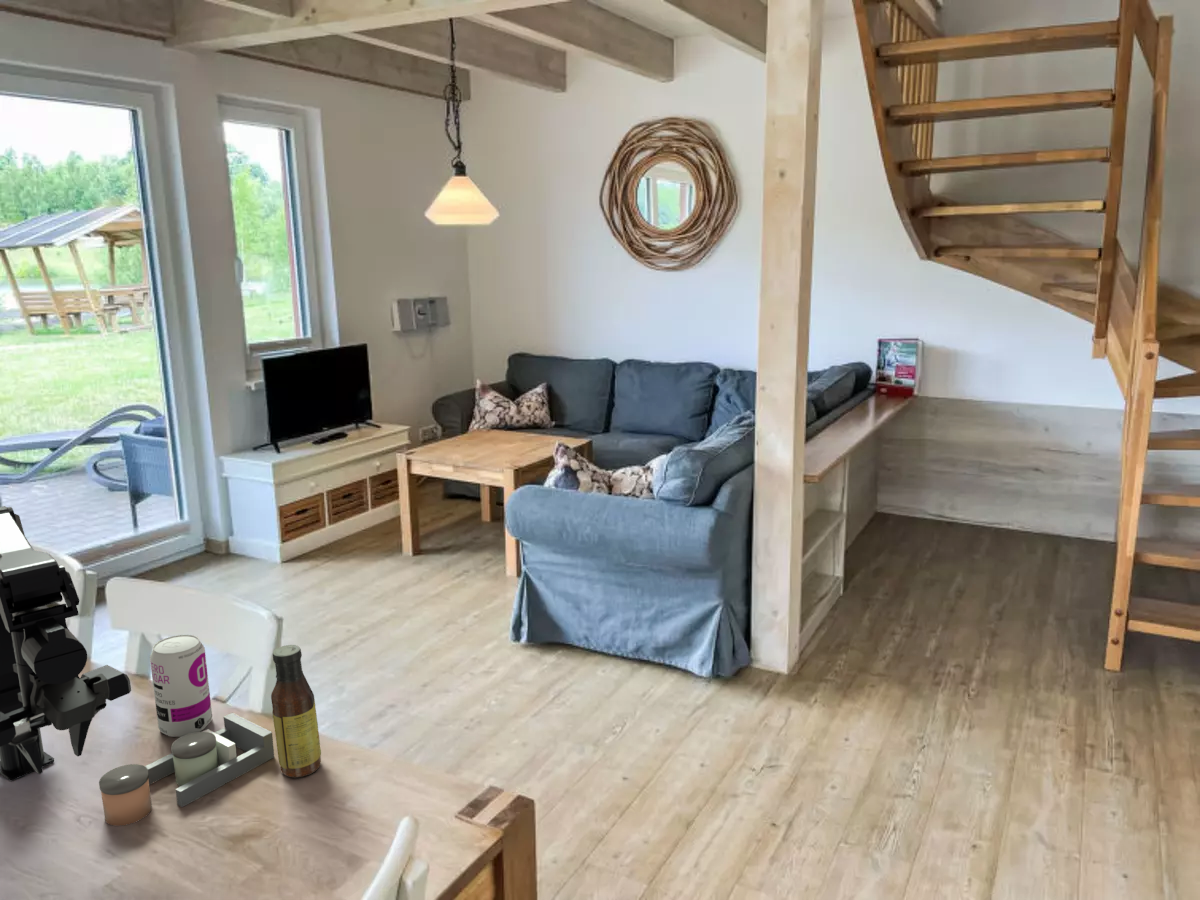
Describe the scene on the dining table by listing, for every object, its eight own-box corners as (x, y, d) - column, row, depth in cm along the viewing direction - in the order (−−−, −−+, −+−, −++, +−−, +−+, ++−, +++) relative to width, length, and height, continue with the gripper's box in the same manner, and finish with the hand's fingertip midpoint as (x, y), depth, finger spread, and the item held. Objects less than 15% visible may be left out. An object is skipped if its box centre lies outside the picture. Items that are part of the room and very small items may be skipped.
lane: (142, 783, 137) (139, 757, 136) (234, 736, 149) (232, 712, 148) (182, 807, 131) (178, 780, 130) (274, 757, 144) (272, 732, 143)
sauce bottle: (330, 761, 143) (320, 644, 138) (305, 783, 137) (294, 662, 132) (295, 753, 145) (284, 638, 140) (269, 775, 139) (257, 655, 134)
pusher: (203, 757, 143) (200, 732, 142) (210, 754, 144) (207, 729, 143) (230, 772, 139) (228, 746, 138) (237, 768, 140) (235, 743, 139)
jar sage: (167, 779, 138) (162, 745, 136) (204, 760, 143) (200, 727, 141) (190, 793, 134) (186, 758, 133) (227, 773, 139) (224, 739, 138)
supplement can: (221, 714, 156) (212, 634, 153) (196, 740, 148) (186, 656, 145) (176, 712, 157) (167, 632, 154) (149, 737, 149) (138, 653, 146)
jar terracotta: (95, 816, 129) (90, 779, 128) (138, 794, 134) (133, 759, 133) (118, 832, 126) (113, 795, 125) (161, 809, 131) (156, 773, 129)
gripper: (-10, 704, 105) (10, 822, 109) (146, 645, 120) (159, 750, 124) (-51, 677, 111) (-31, 790, 115) (102, 625, 126) (116, 726, 130)
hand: (58, 763), depth 121 cm, fingers open, 5 cm apart
